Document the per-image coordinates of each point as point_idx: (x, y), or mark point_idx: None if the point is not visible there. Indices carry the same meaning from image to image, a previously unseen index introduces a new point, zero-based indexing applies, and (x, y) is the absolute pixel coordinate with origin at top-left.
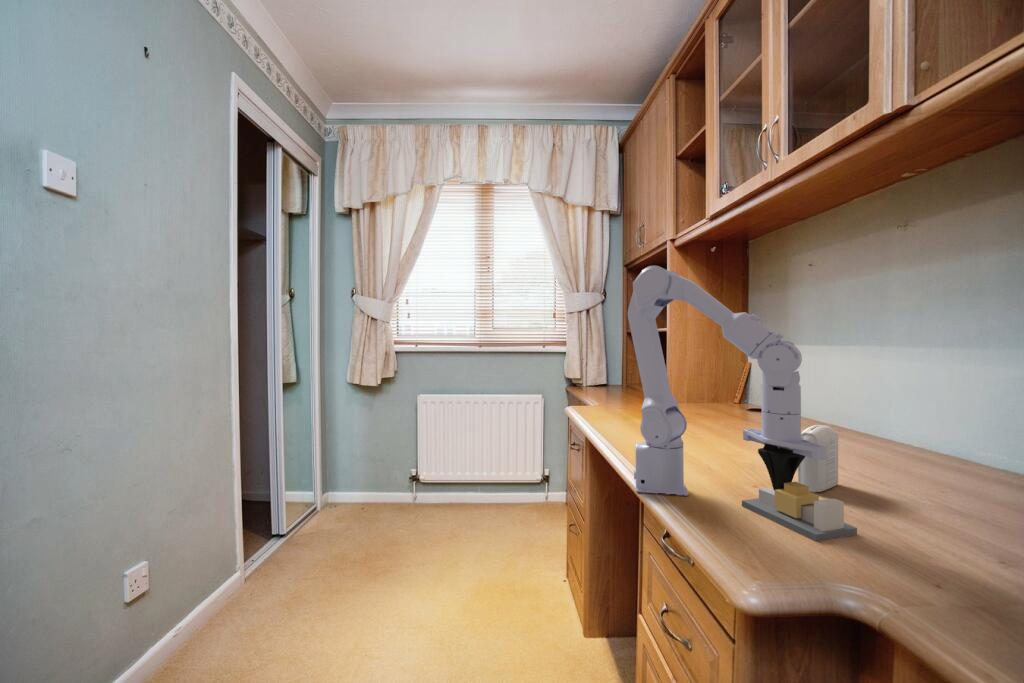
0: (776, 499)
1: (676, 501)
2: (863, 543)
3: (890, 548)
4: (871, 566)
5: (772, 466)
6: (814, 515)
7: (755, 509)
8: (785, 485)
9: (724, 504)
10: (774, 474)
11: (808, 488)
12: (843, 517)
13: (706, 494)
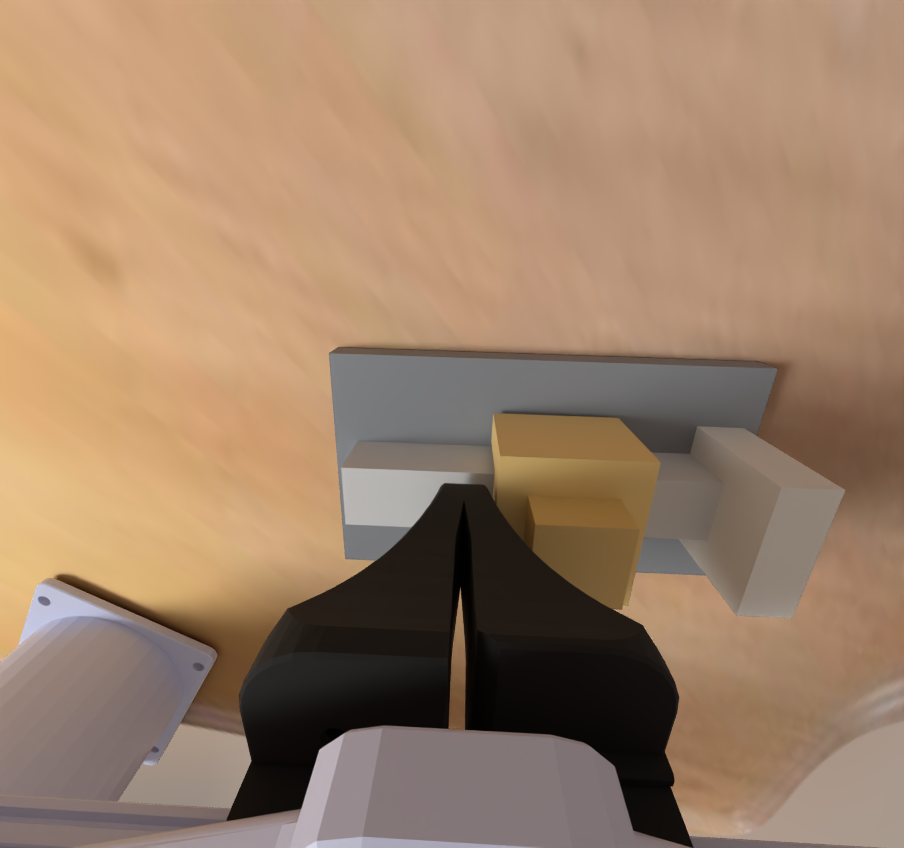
0: None
1: None
2: (807, 419)
3: (895, 363)
4: (888, 557)
5: (449, 701)
6: (699, 562)
7: None
8: None
9: (318, 585)
10: (453, 631)
11: (633, 521)
12: (776, 449)
13: (200, 572)
